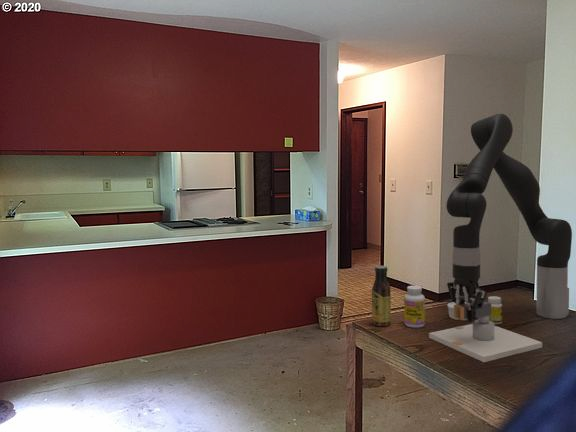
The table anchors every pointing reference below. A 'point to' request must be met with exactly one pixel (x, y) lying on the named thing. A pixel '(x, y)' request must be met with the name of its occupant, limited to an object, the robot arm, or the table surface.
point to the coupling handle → (482, 313)
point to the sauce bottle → (381, 298)
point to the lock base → (485, 341)
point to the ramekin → (452, 310)
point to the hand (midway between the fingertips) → (466, 319)
